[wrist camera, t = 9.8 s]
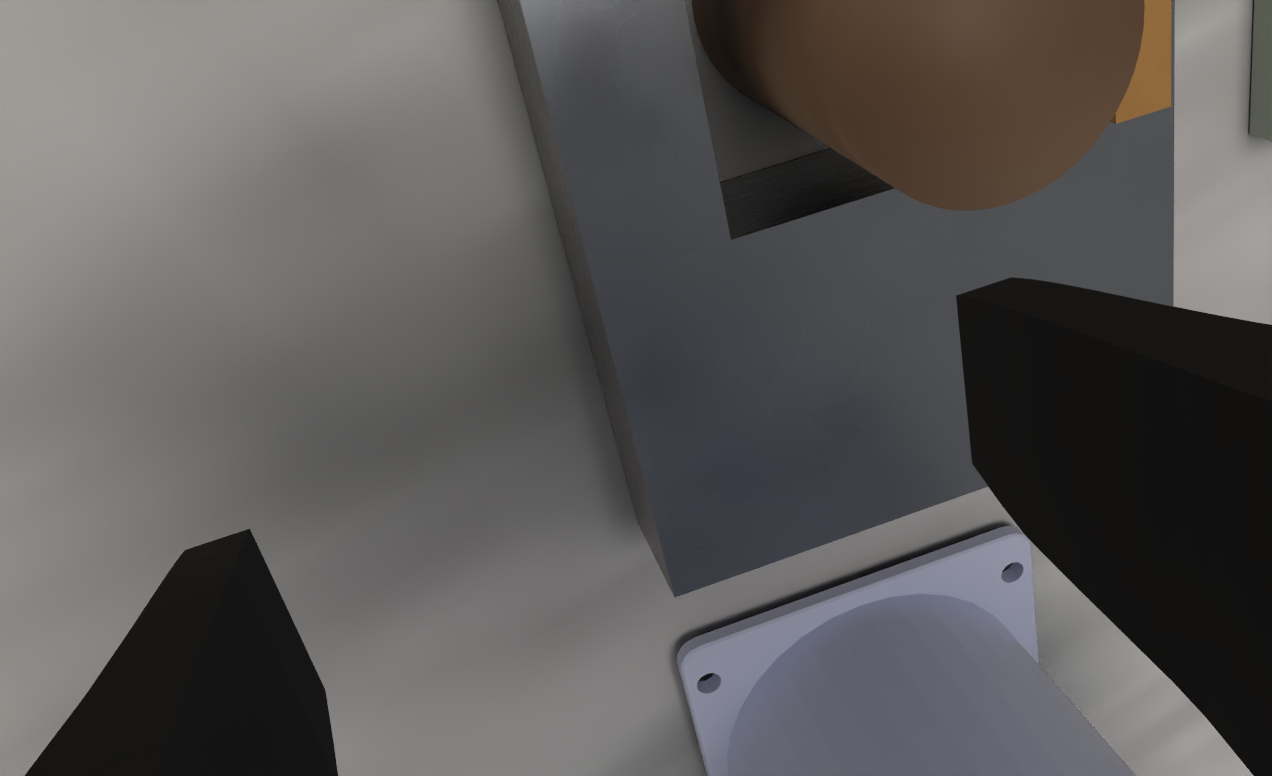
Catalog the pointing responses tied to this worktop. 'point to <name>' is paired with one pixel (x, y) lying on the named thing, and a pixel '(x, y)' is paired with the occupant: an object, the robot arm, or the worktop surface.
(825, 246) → the hole plate
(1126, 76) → the peg
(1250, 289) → the worktop surface
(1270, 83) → the pad
